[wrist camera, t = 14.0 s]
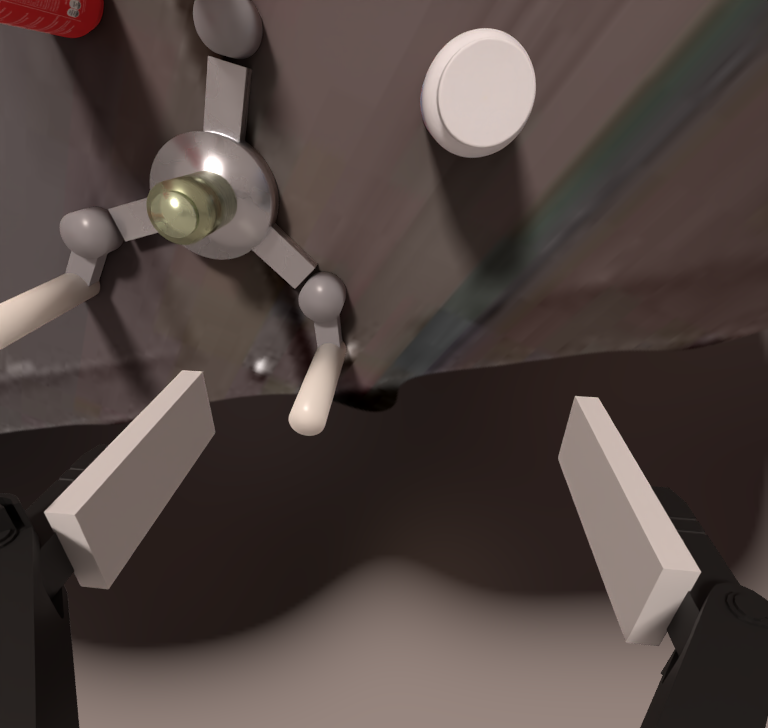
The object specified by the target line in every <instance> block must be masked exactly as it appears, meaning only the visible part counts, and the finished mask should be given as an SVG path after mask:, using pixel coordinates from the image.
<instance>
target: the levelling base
mask: <svg viewBox="0 0 768 728" xmlns="http://www.w3.org/2000/svg"><path fill="white" fill-rule="evenodd" d="M251 78H252V69H249V68H246V67H243V66H240V65H237V64H234V63H230V62H227V61H224V60H221V59H218V58H215V57H211V56H208V65H207V82H206V98H205V115H204V131H196V132H188V133H184V134H181V135H178V136H176V137H174V138H172V139H171V140H169V141H168V142H167V143H166V144H165V145H164V146H163V147H162V148H161V149H160V150H159V152H158V153H157V155H156V157H155V159H154V162H153V164H152V168H151V172H150V192H149V194H148V197H147V198H144V199H141V200H137V201H134V202H131V203H127V204H124V205H120V206H117V207H114V208H111V209H108V210H109V212H110V214H111V216H112V217H113V219H114V221H115V223H116V225H117V227H118V229H119V231H120V232H121V234H122V236H123V238H124V240H125V241H129V240H133V239H136V238H140V237H144V236H147V235H151V234H154V233H159V234H160V235H162V236H163V237H164V238H166V239H167V240H169V241H171V242H173V243H176V244H180V245H183V246H184V247H185V248H187V249H189V250H190V251H192V252H194V253H196V254H198V255H201V256H204V257H207V258H212V259H220V260H223V259H233V258H237V257H240V256H242V255H244V254H246V253H248V252H249V251H251V250H253V251H254V252H255V253H256V254H257V255H258V256H259V257H260V258H261V259H262V260H264V261H265V262H266V263H267V264H268V265H269V266H270V267H271V268H272V269H273V270H275V271H276V272H277V273H278V274H279V275H280V276H281V277H282V278H283V279H284V280H286V281H287V282H288V283H289V284H290V285H291V286H292V287H293V288H294V289H295V288H296V287H297V286H298V285H299V284H300V283H301V282H302V281H303V280H304V279H305V278H306V277H307V276H308V275H309V274H310V273H311V272H312V271H313V270H314V269H315V267H316V266H317V264H318V263H317V262H315V261H314V260H313V259H312V258H311V257H310V256H309V255H308V254H307V253H306V252H305V251H304V250H303V249H302V248H301V247H300V246H299V245H298V244H297V243H295V242H294V241H293V240H292V239H291V238H290V237H289V236H288V235H287V234H286V233H285V232H284V231H283V230H282V229H281V228H280V227H279V226H278V225H277V224H276V223H275V222H276V220H277V216H278V211H279V193H278V187H277V184H276V180H275V178H274V175H273V173H272V171H271V169H270V167H269V165H268V164H267V162H266V161H265V159H264V158H263V157H262V156H261V154H260V153H259V152H258V151H257V150H256V149H255V148H254V147H252V146H251V145H250V144H249V143H247V142H246V141H245V136H246V126H247V116H248V107H249V97H250V87H251Z"/></svg>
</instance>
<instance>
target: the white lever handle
mask: <svg viewBox="0 0 768 728" xmlns="http://www.w3.org/2000/svg"><path fill="white" fill-rule="evenodd" d="M193 18H194V24H195V27H196V30H197V33H198V35H199V36H200V38H201V40H202V41H203V42H204V44H205V45H206V46H207V47H208V48H209V49H211V50H212V51H214V52H216V53H218V54H221V55H224V56H227V57H231V58H235V59H245V58H248V57H250V56H252V55H253V54H254V53H255V52H256V51H257V49H258V48H259V46H260V44H261V40H262V35H263V26H262V21H261V17H260V14H259V12H258V10H257V8H256V7H255V5H254V4H253V3H252V2H251V1H250V0H195V2H194V7H193Z"/></svg>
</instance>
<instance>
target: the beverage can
mask: <svg viewBox="0 0 768 728" xmlns="http://www.w3.org/2000/svg"><path fill="white" fill-rule="evenodd" d="M103 13H104V0H0V23H1V24H6V25H11V26H15V27H20V28H25V29H29V30H34V31H39V32H43V33H48V34H53V35H57V36H62V37H67V38H78V37H81V36H84V35H86V34H87V33H89V32H90V31H92V30H94V29H95V28H96V27H97V26H98V25H99V23H100V22H101V20H102V17H103Z"/></svg>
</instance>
